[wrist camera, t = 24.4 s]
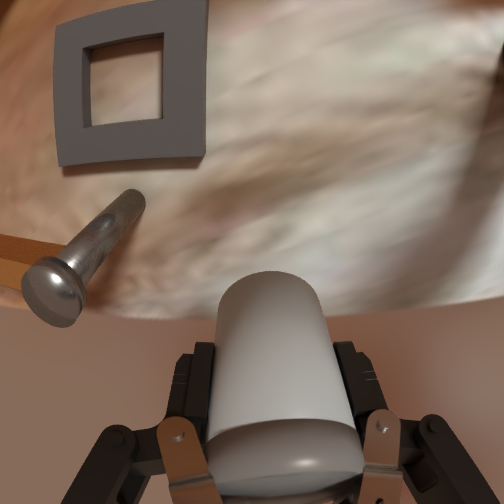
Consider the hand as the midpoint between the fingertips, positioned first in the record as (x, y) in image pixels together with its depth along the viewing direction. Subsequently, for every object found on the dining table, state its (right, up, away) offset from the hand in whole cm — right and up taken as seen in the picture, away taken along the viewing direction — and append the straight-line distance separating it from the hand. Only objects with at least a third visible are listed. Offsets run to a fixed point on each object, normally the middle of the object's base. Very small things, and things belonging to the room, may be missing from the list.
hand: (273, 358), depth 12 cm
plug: (0, +1, +3) cm, 3 cm away
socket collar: (-11, +18, +8) cm, 22 cm away
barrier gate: (-19, +10, +12) cm, 24 cm away
